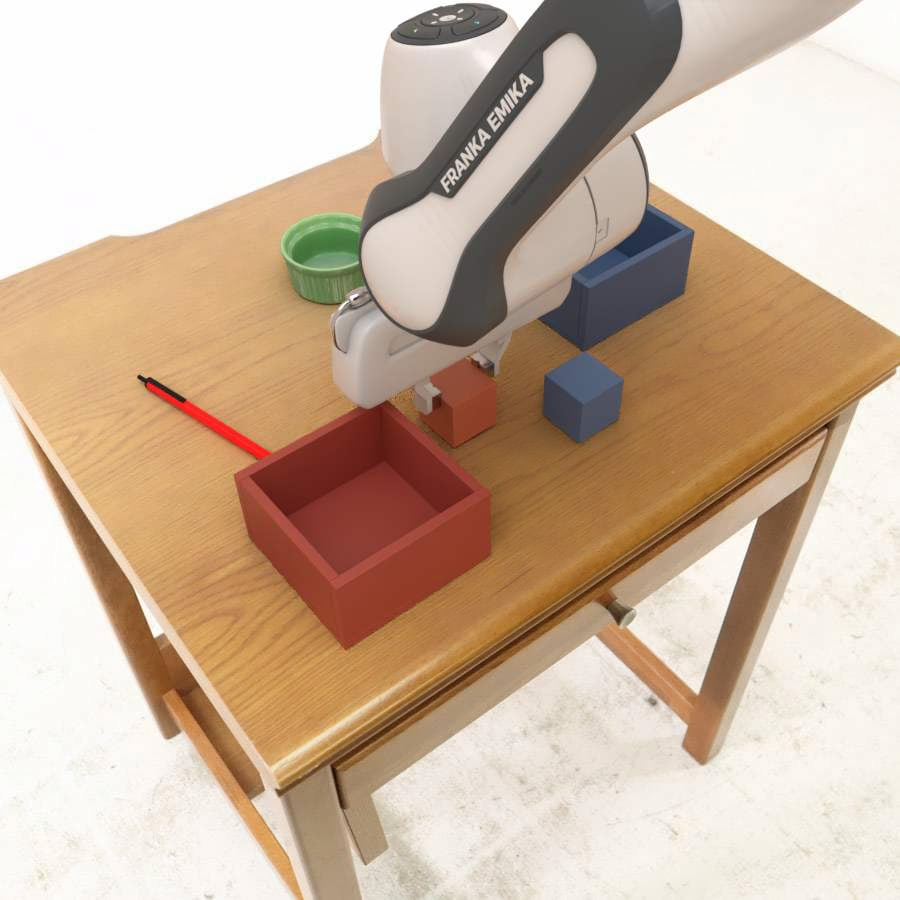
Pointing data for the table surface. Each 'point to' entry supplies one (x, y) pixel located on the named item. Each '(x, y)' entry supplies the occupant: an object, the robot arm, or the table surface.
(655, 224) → the blue bin
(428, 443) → the red bin
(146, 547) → the table surface
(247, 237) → the table surface
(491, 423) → the terracotta block
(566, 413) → the blue block
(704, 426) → the table surface
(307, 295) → the ramekin
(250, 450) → the pen
